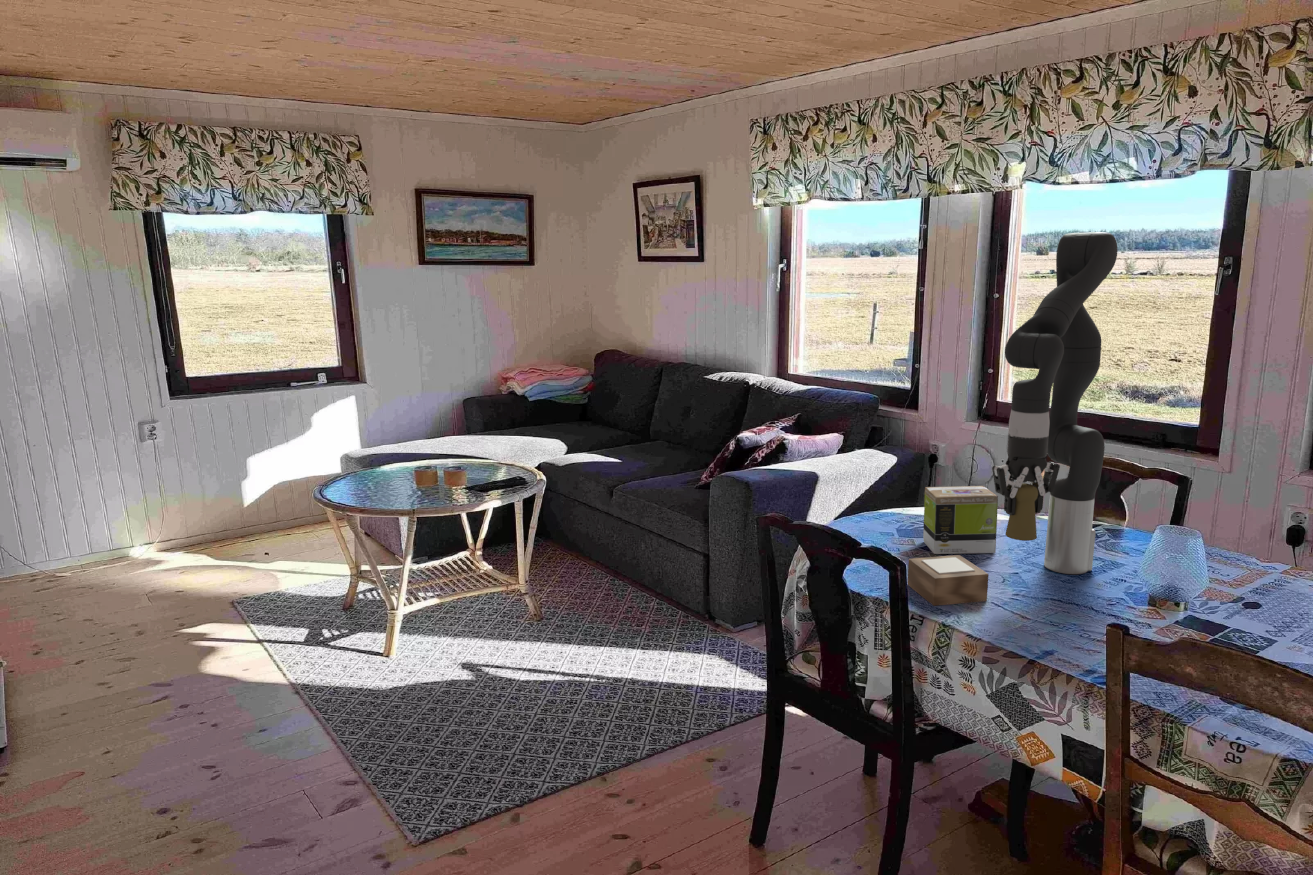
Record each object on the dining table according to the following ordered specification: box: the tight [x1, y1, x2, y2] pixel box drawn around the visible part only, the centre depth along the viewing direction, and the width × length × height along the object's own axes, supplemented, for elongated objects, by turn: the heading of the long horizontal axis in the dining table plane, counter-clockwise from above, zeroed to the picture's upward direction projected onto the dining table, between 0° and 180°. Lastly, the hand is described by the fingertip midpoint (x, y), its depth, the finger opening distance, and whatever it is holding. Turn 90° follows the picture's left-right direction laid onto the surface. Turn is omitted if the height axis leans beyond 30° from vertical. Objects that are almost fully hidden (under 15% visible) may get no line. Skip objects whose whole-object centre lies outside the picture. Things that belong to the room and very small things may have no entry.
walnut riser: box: [907, 554, 990, 607], centre depth 188 cm, size 12×12×6 cm
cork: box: [1005, 482, 1038, 542], centre depth 180 cm, size 6×6×11 cm
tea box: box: [922, 485, 999, 555], centre depth 215 cm, size 15×10×15 cm, turn 89°
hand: (1022, 512), depth 180 cm, fingers closed on cork, 5 cm apart
